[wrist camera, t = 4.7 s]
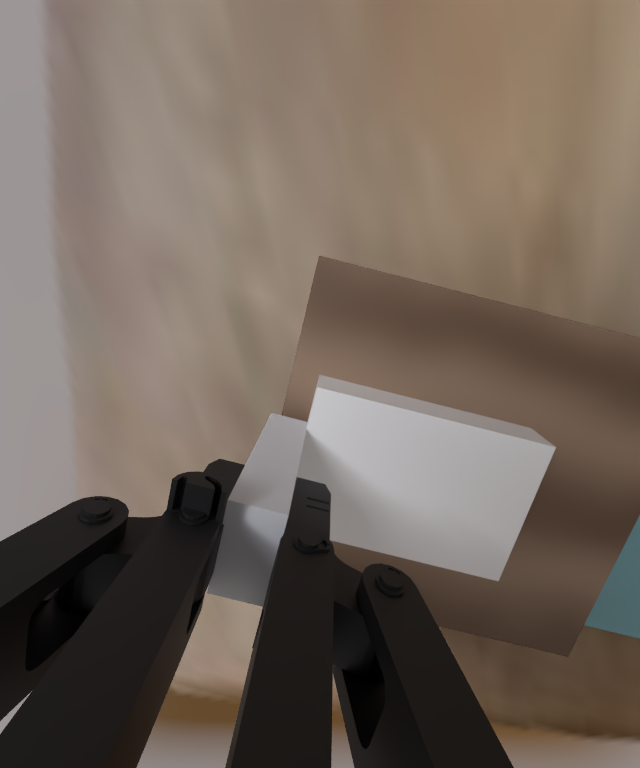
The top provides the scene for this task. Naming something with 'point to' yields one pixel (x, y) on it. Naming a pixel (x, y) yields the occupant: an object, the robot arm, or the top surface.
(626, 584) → the mat
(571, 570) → the brown wooden flat block
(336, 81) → the top surface
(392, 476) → the white slab
